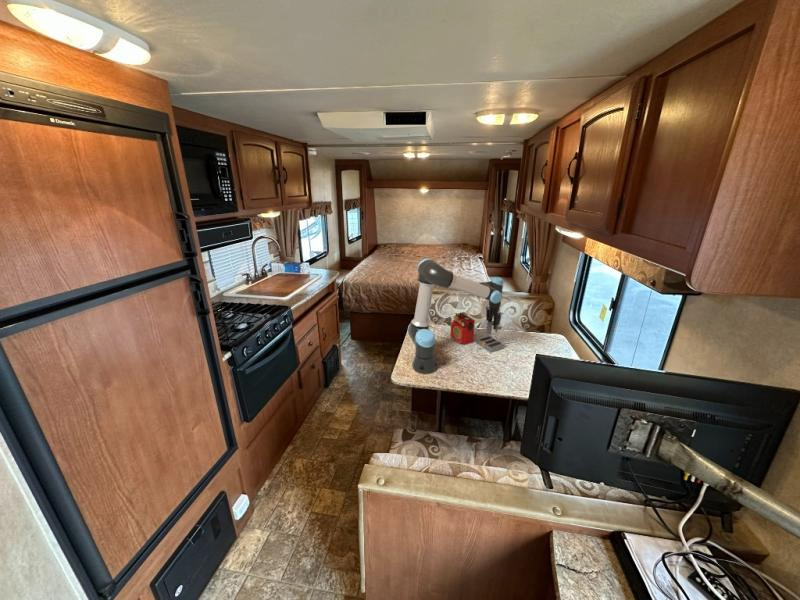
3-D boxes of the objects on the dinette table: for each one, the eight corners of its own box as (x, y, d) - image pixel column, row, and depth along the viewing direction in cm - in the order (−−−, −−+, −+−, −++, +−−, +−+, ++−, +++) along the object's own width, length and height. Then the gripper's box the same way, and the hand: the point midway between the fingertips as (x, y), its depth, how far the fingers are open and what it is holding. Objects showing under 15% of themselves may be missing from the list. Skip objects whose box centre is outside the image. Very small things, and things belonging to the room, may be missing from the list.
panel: (488, 334, 208) (489, 324, 205) (486, 333, 210) (487, 322, 207) (497, 331, 211) (498, 321, 208) (494, 330, 213) (496, 320, 210)
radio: (449, 336, 226) (450, 312, 219) (460, 333, 231) (462, 309, 223) (462, 346, 213) (465, 320, 206) (474, 343, 218) (476, 317, 210)
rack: (490, 352, 206) (491, 347, 204) (475, 343, 218) (476, 338, 216) (503, 348, 211) (504, 343, 209) (488, 339, 223) (489, 334, 222)
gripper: (508, 303, 197) (504, 335, 206) (491, 295, 209) (487, 326, 218) (499, 305, 194) (495, 338, 202) (482, 297, 206) (479, 328, 215)
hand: (491, 332), depth 210 cm, fingers closed on panel, 2 cm apart
